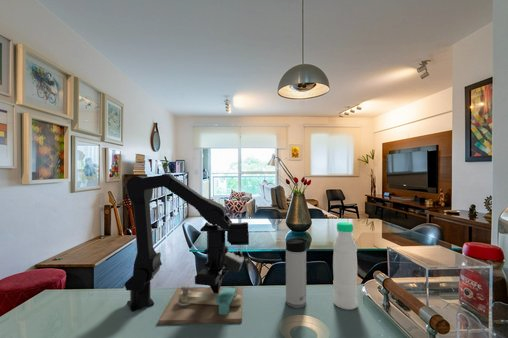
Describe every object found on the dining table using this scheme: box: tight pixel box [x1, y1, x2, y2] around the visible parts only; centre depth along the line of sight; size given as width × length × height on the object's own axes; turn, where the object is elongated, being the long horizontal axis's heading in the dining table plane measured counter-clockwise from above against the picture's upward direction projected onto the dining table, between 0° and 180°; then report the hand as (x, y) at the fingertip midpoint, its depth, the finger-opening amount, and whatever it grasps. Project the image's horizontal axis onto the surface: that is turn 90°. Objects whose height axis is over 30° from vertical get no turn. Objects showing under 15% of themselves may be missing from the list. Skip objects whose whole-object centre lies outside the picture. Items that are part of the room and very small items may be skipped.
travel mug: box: [285, 237, 308, 309], centre depth 78 cm, size 6×7×20 cm
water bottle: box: [332, 221, 359, 311], centre depth 78 cm, size 7×7×25 cm
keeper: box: [178, 286, 236, 315], centre depth 75 cm, size 18×7×4 cm, turn 79°
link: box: [179, 284, 243, 306], centre depth 76 cm, size 20×4×4 cm, turn 83°
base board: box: [157, 286, 244, 325], centre depth 78 cm, size 22×19×1 cm
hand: (216, 294), depth 78 cm, fingers closed
